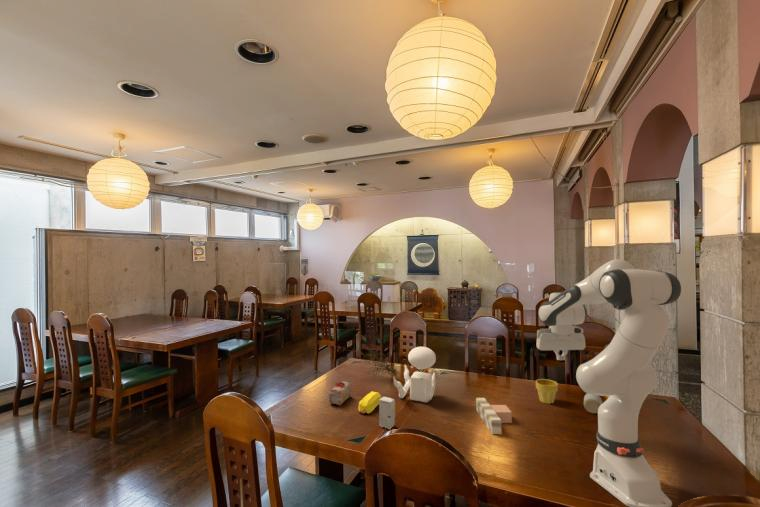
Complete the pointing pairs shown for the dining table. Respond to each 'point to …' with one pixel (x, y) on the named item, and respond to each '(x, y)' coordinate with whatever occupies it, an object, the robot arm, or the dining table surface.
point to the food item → (339, 393)
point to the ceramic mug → (592, 403)
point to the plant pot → (546, 390)
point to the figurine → (419, 376)
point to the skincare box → (386, 412)
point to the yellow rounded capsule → (369, 402)
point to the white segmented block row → (488, 416)
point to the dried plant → (376, 362)
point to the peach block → (503, 413)
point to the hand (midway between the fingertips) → (560, 359)
